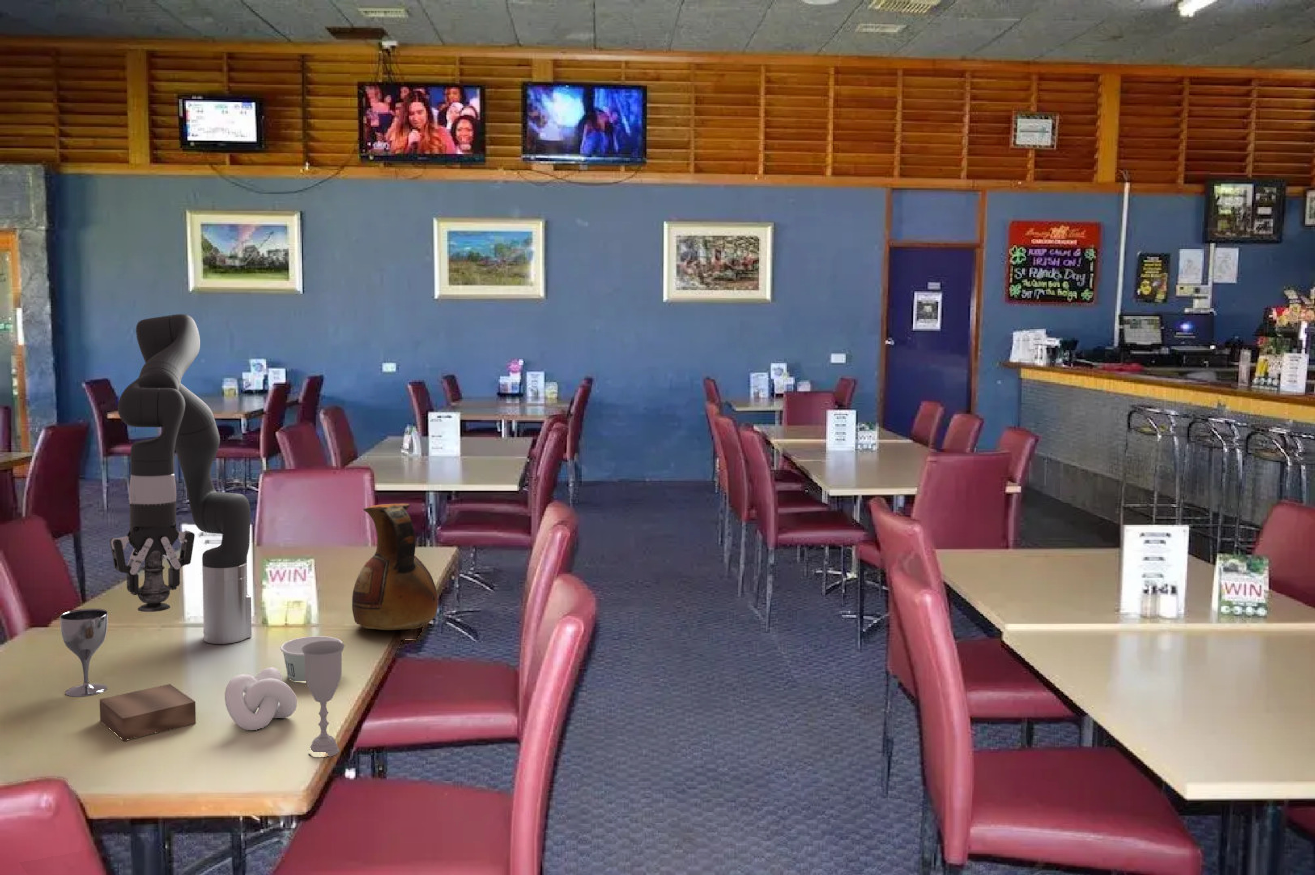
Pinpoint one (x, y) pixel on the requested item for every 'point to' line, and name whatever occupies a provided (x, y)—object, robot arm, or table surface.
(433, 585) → the ceramic pitcher
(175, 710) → the walnut base
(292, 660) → the food container
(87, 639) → the silver goblet
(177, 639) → the table surface
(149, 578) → the salt shaker
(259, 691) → the white knot sculpture
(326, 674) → the chalice
